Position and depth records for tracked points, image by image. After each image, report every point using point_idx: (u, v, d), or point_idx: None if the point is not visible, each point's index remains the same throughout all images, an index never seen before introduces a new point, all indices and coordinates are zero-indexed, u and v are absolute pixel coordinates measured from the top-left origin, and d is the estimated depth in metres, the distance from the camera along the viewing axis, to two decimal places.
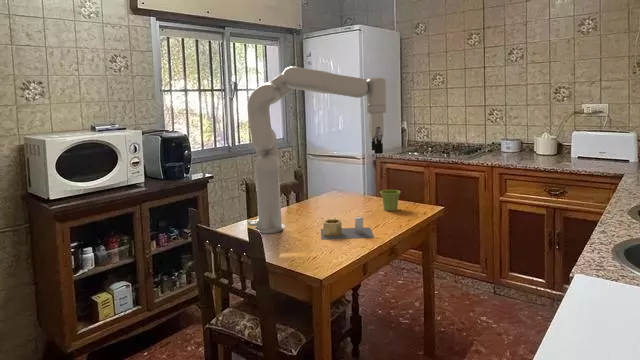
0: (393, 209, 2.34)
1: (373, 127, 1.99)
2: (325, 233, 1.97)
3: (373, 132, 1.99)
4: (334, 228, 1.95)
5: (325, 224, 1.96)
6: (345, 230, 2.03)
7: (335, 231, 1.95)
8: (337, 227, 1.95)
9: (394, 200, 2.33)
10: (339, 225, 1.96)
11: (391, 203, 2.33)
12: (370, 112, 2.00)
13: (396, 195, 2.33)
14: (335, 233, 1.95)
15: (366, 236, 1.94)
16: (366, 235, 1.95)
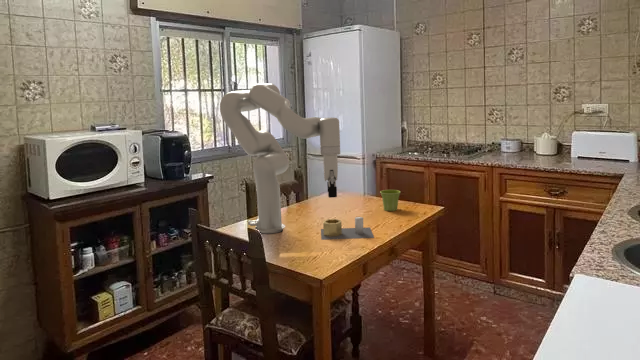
0: (393, 209, 2.34)
1: (326, 170, 1.89)
2: (325, 233, 1.97)
3: (326, 175, 1.89)
4: (334, 228, 1.95)
5: (325, 224, 1.96)
6: (345, 230, 2.03)
7: (335, 231, 1.95)
8: (337, 227, 1.95)
9: (394, 200, 2.33)
10: (339, 225, 1.96)
11: (391, 203, 2.33)
12: (323, 154, 1.90)
13: (396, 195, 2.33)
14: (335, 233, 1.95)
15: (366, 236, 1.94)
16: (366, 235, 1.95)
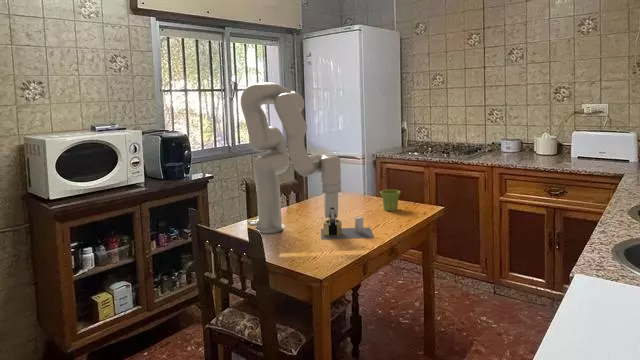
0: (393, 209, 2.34)
1: (327, 207, 1.92)
2: (325, 233, 1.97)
3: (327, 212, 1.92)
4: None
5: (325, 224, 1.96)
6: (345, 230, 2.03)
7: None
8: (337, 227, 1.95)
9: (394, 200, 2.33)
10: (339, 225, 1.96)
11: (391, 203, 2.33)
12: (324, 191, 1.93)
13: (396, 195, 2.33)
14: None
15: (366, 236, 1.94)
16: (366, 235, 1.95)
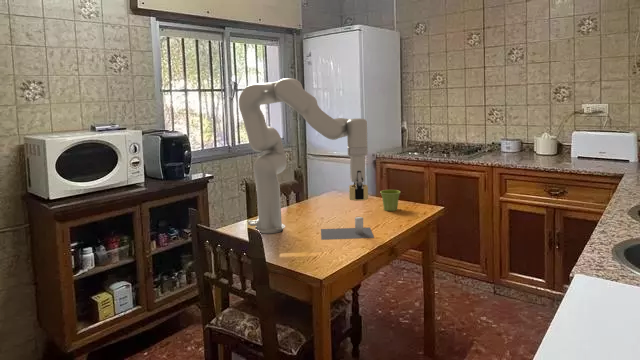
0: (393, 209, 2.34)
1: (353, 171, 1.89)
2: (351, 197, 1.94)
3: (354, 176, 1.90)
4: None
5: (351, 188, 1.93)
6: (345, 230, 2.03)
7: None
8: None
9: (394, 200, 2.33)
10: (365, 189, 1.93)
11: (391, 203, 2.33)
12: (350, 155, 1.91)
13: (396, 195, 2.33)
14: None
15: (366, 236, 1.94)
16: (366, 235, 1.95)
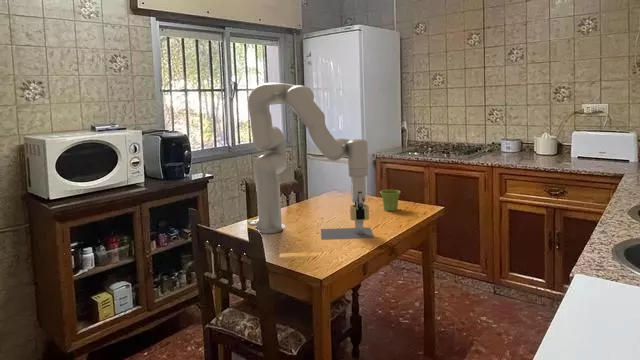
0: (393, 209, 2.34)
1: (354, 191, 1.91)
2: (352, 218, 1.95)
3: (354, 197, 1.91)
4: None
5: (352, 208, 1.95)
6: (345, 230, 2.03)
7: None
8: None
9: (394, 200, 2.33)
10: (366, 209, 1.95)
11: (391, 203, 2.33)
12: (351, 175, 1.92)
13: (396, 195, 2.33)
14: None
15: (366, 236, 1.94)
16: (366, 235, 1.95)
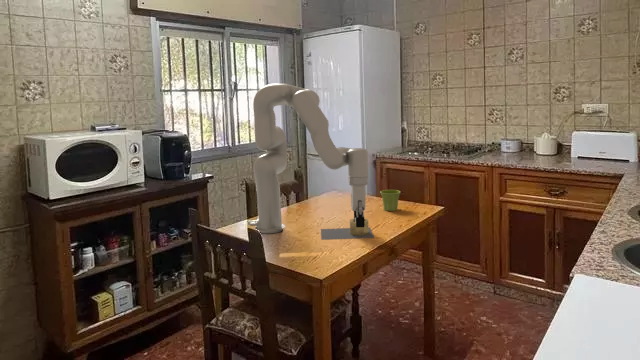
0: (393, 209, 2.34)
1: (354, 200, 1.91)
2: (352, 232, 1.97)
3: (354, 205, 1.92)
4: (361, 227, 1.95)
5: (352, 223, 1.96)
6: (345, 230, 2.03)
7: (362, 230, 1.95)
8: (364, 226, 1.95)
9: (394, 200, 2.33)
10: (366, 224, 1.96)
11: (391, 203, 2.33)
12: (351, 184, 1.93)
13: (396, 195, 2.33)
14: (362, 232, 1.95)
15: (366, 236, 1.94)
16: (366, 235, 1.95)
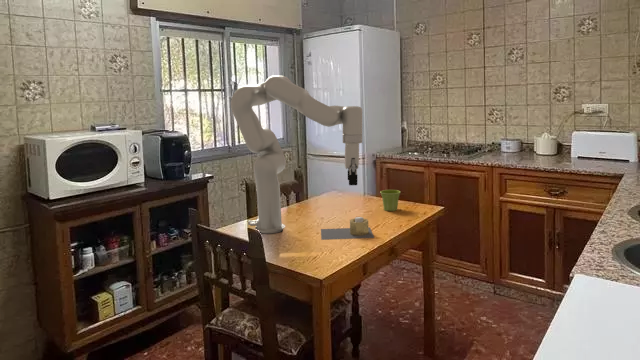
0: (393, 209, 2.34)
1: (348, 158, 1.91)
2: (352, 232, 1.97)
3: (347, 163, 1.91)
4: (361, 227, 1.95)
5: (352, 223, 1.96)
6: (345, 230, 2.03)
7: (362, 230, 1.95)
8: (364, 226, 1.95)
9: (394, 200, 2.33)
10: (366, 224, 1.96)
11: (391, 203, 2.33)
12: (345, 142, 1.92)
13: (396, 195, 2.33)
14: (362, 232, 1.95)
15: (366, 236, 1.94)
16: (366, 235, 1.95)
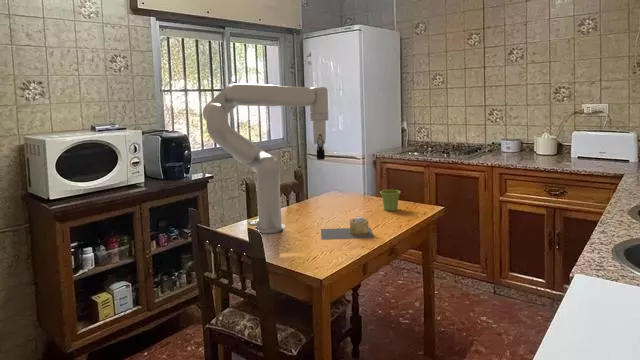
0: (393, 209, 2.34)
1: (315, 134, 2.07)
2: (352, 232, 1.97)
3: (315, 139, 2.08)
4: (361, 227, 1.95)
5: (352, 223, 1.96)
6: (345, 230, 2.03)
7: (362, 230, 1.95)
8: (364, 226, 1.95)
9: (394, 200, 2.33)
10: (366, 224, 1.96)
11: (391, 203, 2.33)
12: (312, 120, 2.09)
13: (396, 195, 2.33)
14: (362, 232, 1.95)
15: (366, 236, 1.94)
16: (366, 235, 1.95)
